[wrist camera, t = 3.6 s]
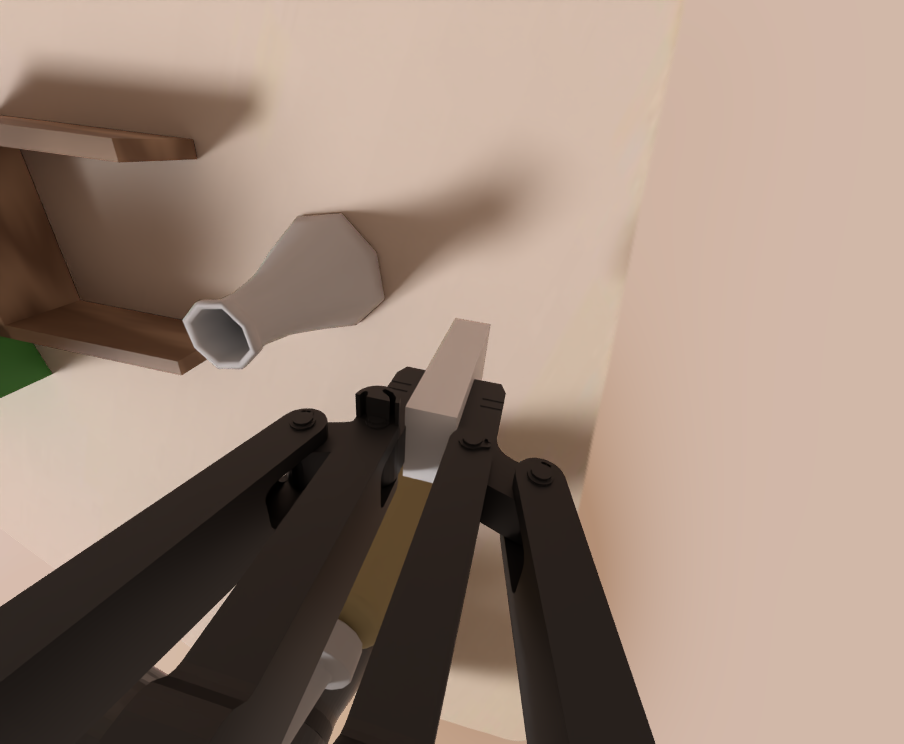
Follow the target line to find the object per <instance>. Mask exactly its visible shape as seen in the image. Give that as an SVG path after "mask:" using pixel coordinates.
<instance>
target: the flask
mask: <svg viewBox="0 0 904 744" xmlns="http://www.w3.org/2000/svg"><path fill="white" fill-rule="evenodd" d="M384 299H385V298H384V292H383V286H382V280H381V275H380V269H379V263H378V257H377V252H376V251H375V250H374V249H373V248H372V247H371V246H370V245H369V243H368V242H367V241H366V240H365V239H364V238H363V237H362V236H361V234H360V233H359V232H358V231H357V230H356V229H355V228H354V227H353V225H352V224H351V223H350V222H349V221H348V220H347V219H346V218H345V216H344V215H343V214H342V213H338V214H324V215H309V216H297V217H296V219H295V220H294V221H293V223H292V224H291V225H290V226H289V228H288V229H287V230H286V231H285V233H284V234H283V235H282V236H281V238H280V239H279V240H278V241H277V243H276V244H275V245H274V246H273V248H272V249H271V250H270V252H269V253H268V254H267V256H266V258H265V259H264V261H263V262H262V264H261V265H260V267H259V269H258V270H257V272H256V273H255V274H254V276H253V277H252V278H251V279H249V280H248V281H247V282H246V283H245V284H243V285H242V286H241V287H240V288H239V289H237V290H236V291H235V292H234V293H232V294H230V295H228V296H226V297H224V298H222V299H217V300H199V301H197V302H195V304H194V305H193V306H192V308H191V309H190V310H189V312H188V313H187V315H186V316H185V317H184V319H183V320H182V321H183V323H184V325H185V328H186V330H187V332H188V334H189V337H190V339H191V341H192V344H193V346H194V348H195V349H196V350H197V351H199V352H200V353H201V354H202V355H203V356H204V357H205V358H206V359H208V360H209V361H210V362H211V363H212V364H213V365H214V366H215V367H216V368H218V369H243V368H245V367H246V366H247V365H248V364H249V363H250V362H251V361H252V360H253V359H254V358H255V357H256V356H257V355H258V353H259V352H260V351H261V350H262V347H263V346H264V345H266V344H268V343H270V342H273V341H275V340H278V339H280V338H283V337H286V336H288V335H291V334H296V333H302V332H308V331H314V330H320V329H327V328H336V327H345V326H352V325H357V324H358V323H359V322H360V321H361V320H362V319H363V318H365V317H366V316H367V315H368V314H369V313H370V312H371V311H372V310H373V309H374V308H376V307H377V306H378V305H379V304H380V303H381V302H382V301H383V300H384Z"/></svg>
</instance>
